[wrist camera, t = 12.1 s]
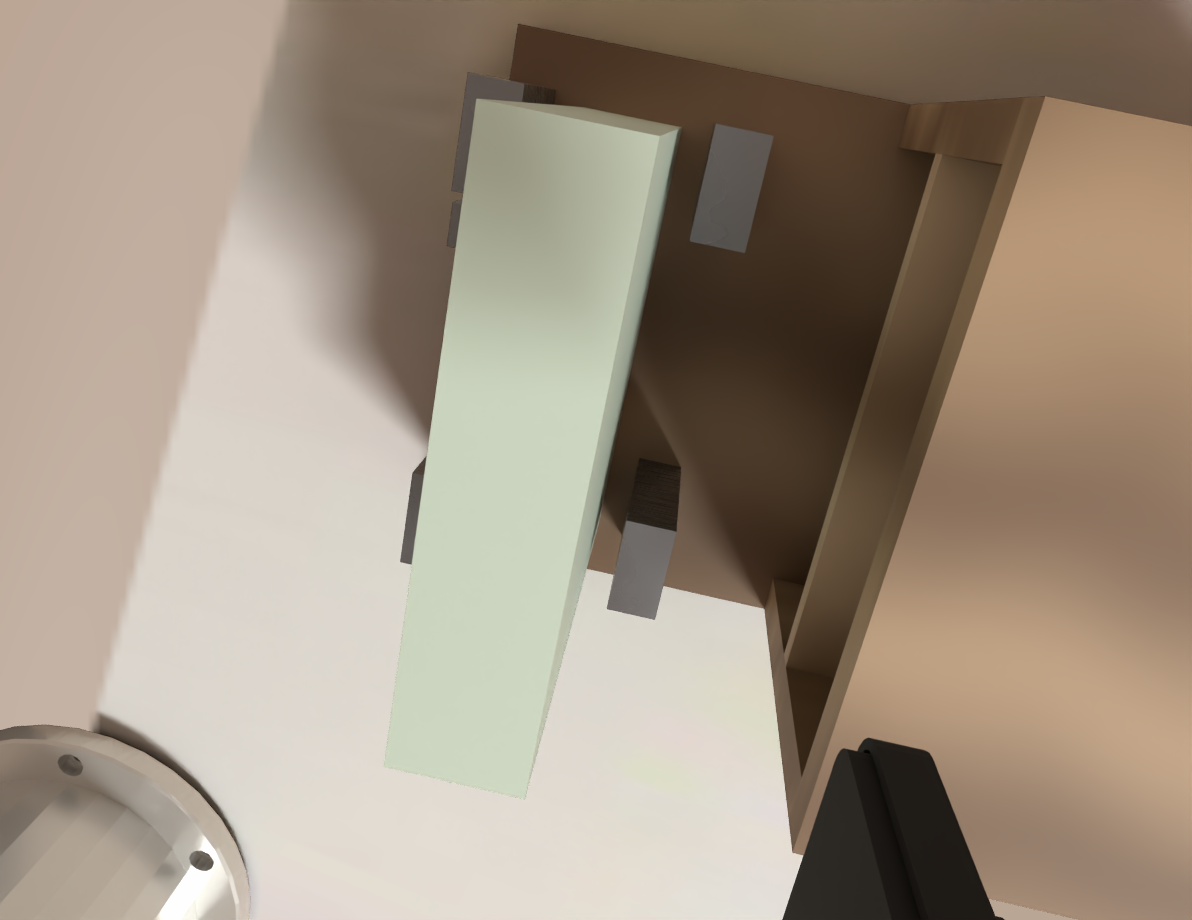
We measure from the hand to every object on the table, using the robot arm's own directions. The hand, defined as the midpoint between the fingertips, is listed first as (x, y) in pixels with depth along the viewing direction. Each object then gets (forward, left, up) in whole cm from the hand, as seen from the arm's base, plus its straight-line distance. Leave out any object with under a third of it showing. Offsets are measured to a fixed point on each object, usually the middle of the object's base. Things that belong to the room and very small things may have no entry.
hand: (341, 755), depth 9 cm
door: (0, 0, -18) cm, 18 cm away
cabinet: (0, -7, -19) cm, 20 cm away
